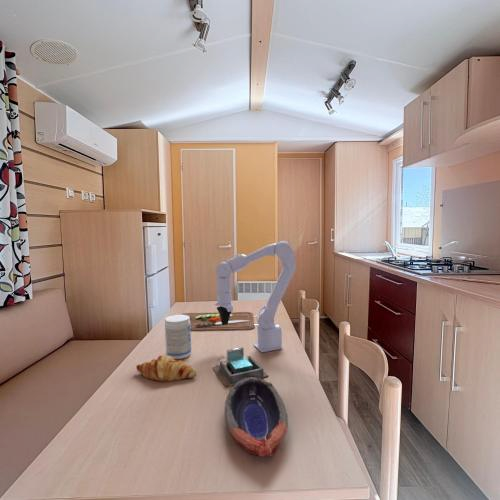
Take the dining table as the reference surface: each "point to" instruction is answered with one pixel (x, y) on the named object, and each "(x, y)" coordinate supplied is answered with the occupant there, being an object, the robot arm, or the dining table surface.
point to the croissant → (166, 369)
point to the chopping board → (214, 322)
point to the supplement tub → (178, 336)
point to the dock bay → (232, 379)
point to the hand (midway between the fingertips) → (224, 324)
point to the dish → (256, 416)
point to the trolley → (237, 361)
